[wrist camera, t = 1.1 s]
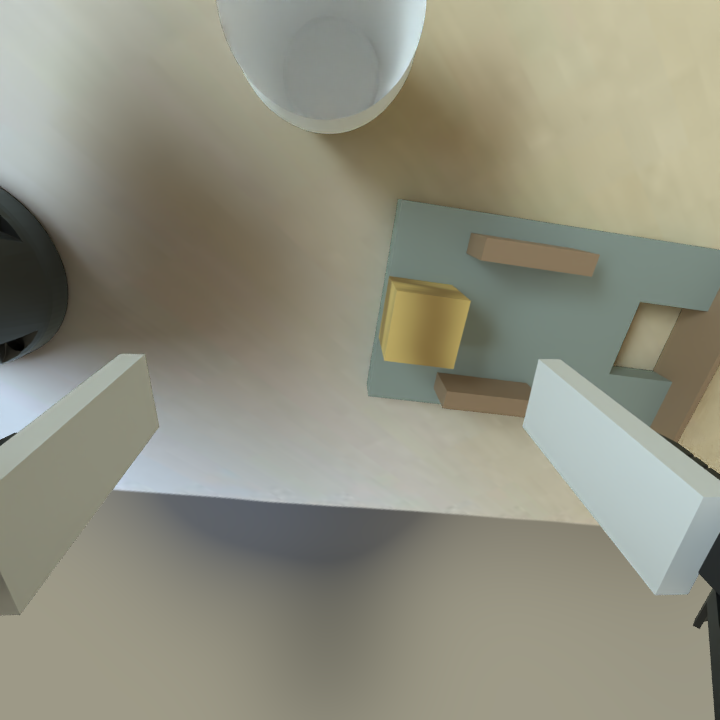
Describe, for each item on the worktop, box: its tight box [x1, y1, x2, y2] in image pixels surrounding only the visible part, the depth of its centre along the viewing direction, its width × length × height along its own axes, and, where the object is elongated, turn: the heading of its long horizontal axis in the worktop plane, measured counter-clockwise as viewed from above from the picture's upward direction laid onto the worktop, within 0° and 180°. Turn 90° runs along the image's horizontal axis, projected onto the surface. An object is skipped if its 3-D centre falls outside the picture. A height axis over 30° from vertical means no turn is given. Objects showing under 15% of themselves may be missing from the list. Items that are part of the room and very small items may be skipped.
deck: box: [367, 199, 720, 443], centre depth 32 cm, size 27×16×6 cm, turn 82°
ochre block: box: [379, 276, 471, 369], centre depth 29 cm, size 5×5×5 cm
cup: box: [216, 0, 426, 134], centre depth 22 cm, size 9×9×12 cm
